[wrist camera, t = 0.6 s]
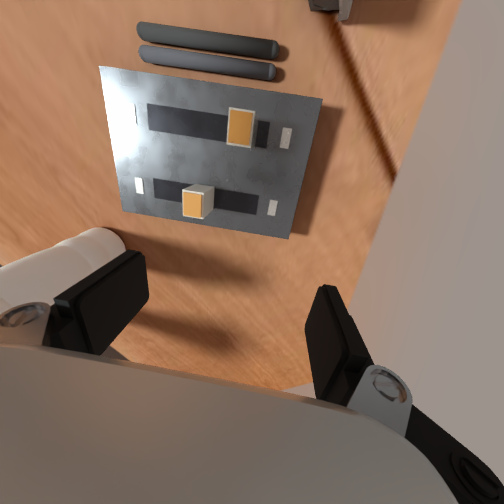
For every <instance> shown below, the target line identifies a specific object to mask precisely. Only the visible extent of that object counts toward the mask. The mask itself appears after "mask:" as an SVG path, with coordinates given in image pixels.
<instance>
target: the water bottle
mask: <svg viewBox="0 0 504 504" xmlns="http://www.w3.org/2000/svg"><path fill="white" fill-rule="evenodd" d="M125 251H126V249H125V245H124V243H123V241H122V240H121V239H120V237H119V236H118V235H117V234H115V233H114V232H112V231H111V230H108V229H106V228H101V227H97V228H92V229H89V230H87V231H85V232H83V233H81V234H79V235H78V236H76V237H72V238H69V239H66V240H64V241H62V242H60V243H58V244H56V245H55V246H54V247H51V248H48V249H45V250H42V251H39V252H37V253H34V254H31V255H29V256H26V257H24V258H22V259H19V260H17V261H14V262H12V263H10V264H7V265H5V266H3V267H1V268H0V314H2V313H3V312H5V311H7V310H9V309H11V308H13V307H16V306H18V305H22V304H25V303H31V302H44V303H48V304H49V305H50V306H52V305H53V304H55V302H54V300H53V298H54V297H56V296H57V295H59V294H61V293H62V292H64V291H65V290H67V289H68V288H70V287H71V286H73V285H74V284H76V283H77V282H79V281H80V280H82V279H84V278H85V277H87V276H88V275H90V274H91V273H93V272H94V271H96V270H97V269H99V268H100V267H102V266H104V265H105V264H107V263H108V262H110V261H111V260H113V259H114V258H116V257H117V256H119V255H120V254H122V253H123V252H125Z"/></svg>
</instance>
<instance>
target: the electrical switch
mask: <svg viewBox="0 0 504 504" xmlns="http://www.w3.org/2000/svg"><path fill="white" fill-rule="evenodd" d="M308 1H309V6H310V10H311V11H317V10H328V11H329V10H340V12H339V17H338V21H341V20H346V19H348V17H349V14H350V10H351V6H352V1H353V0H308Z"/></svg>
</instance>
